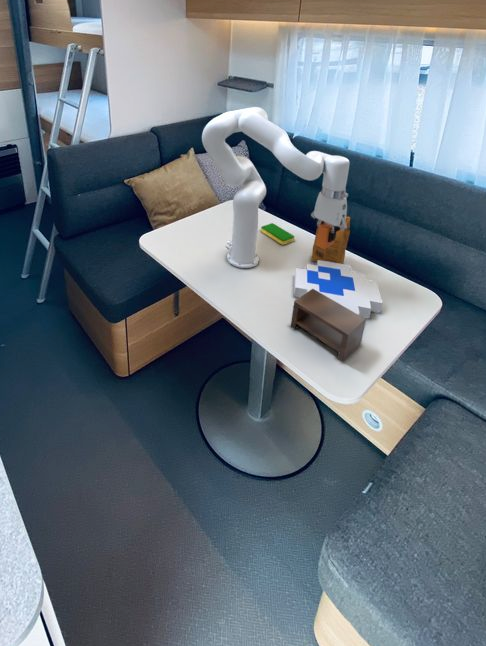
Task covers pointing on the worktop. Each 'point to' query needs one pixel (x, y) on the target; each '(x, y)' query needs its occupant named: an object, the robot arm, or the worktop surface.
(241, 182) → the robot arm
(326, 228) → the block
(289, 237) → the dish sponge
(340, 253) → the coffee package
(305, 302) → the shelf
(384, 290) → the worktop surface
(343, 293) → the stepped white slab
